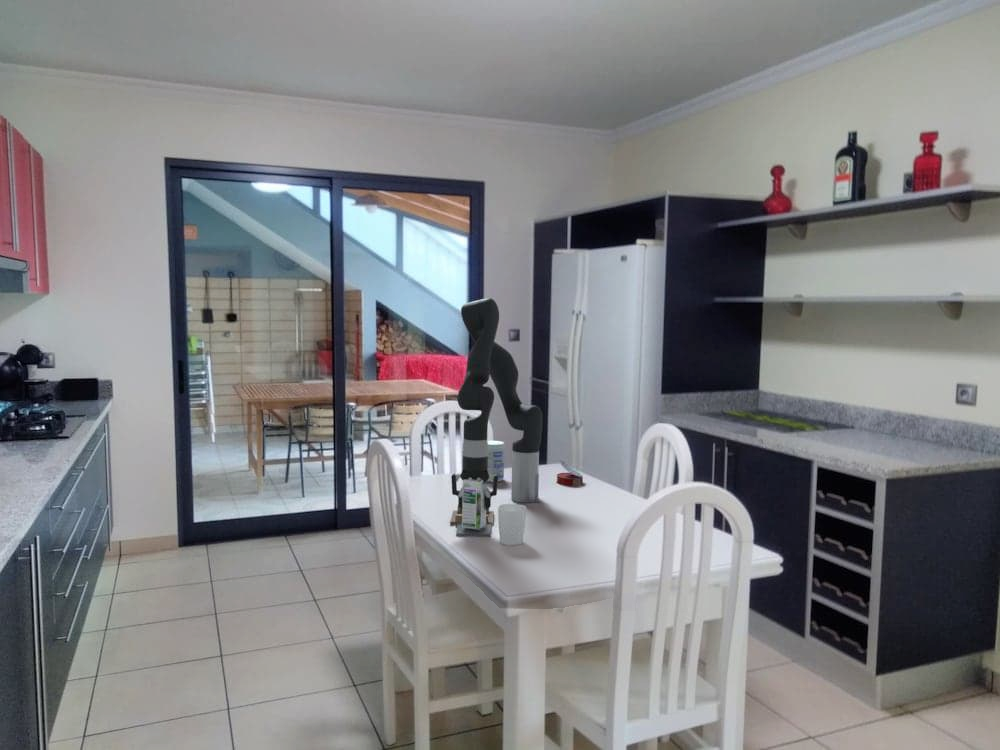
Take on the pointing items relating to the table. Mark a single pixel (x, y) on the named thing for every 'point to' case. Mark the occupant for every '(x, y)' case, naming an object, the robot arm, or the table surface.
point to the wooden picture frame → (457, 517)
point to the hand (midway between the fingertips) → (474, 508)
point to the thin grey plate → (474, 531)
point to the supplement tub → (496, 459)
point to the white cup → (511, 523)
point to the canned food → (569, 477)
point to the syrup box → (473, 504)
